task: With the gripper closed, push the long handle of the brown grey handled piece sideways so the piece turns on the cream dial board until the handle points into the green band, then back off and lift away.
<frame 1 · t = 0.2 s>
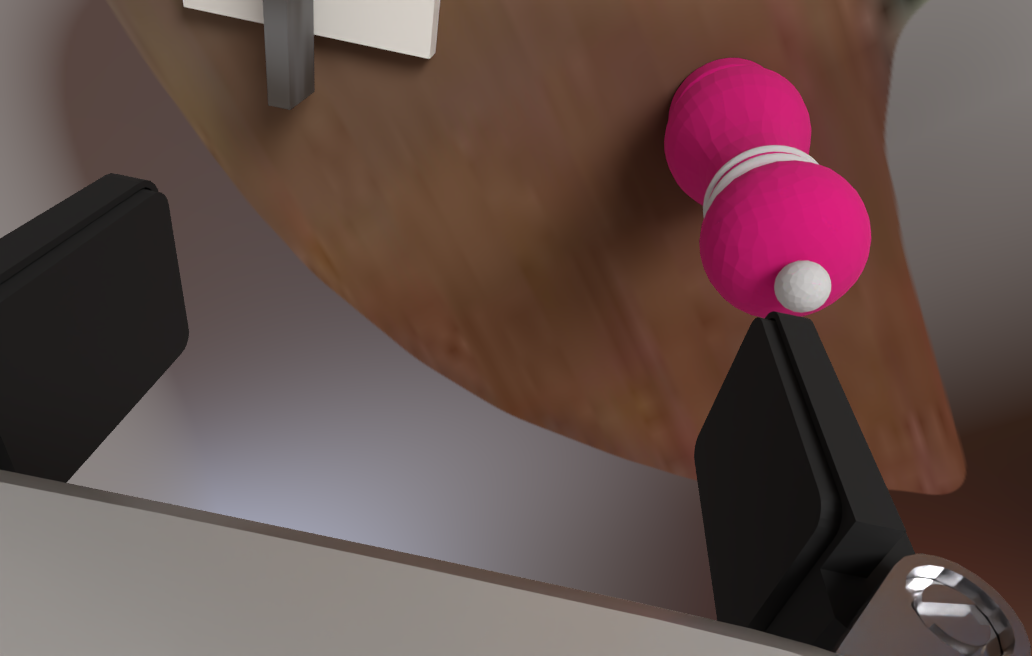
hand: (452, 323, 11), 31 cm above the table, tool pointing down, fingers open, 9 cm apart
pepper mill: (722, 112, 38), on the table
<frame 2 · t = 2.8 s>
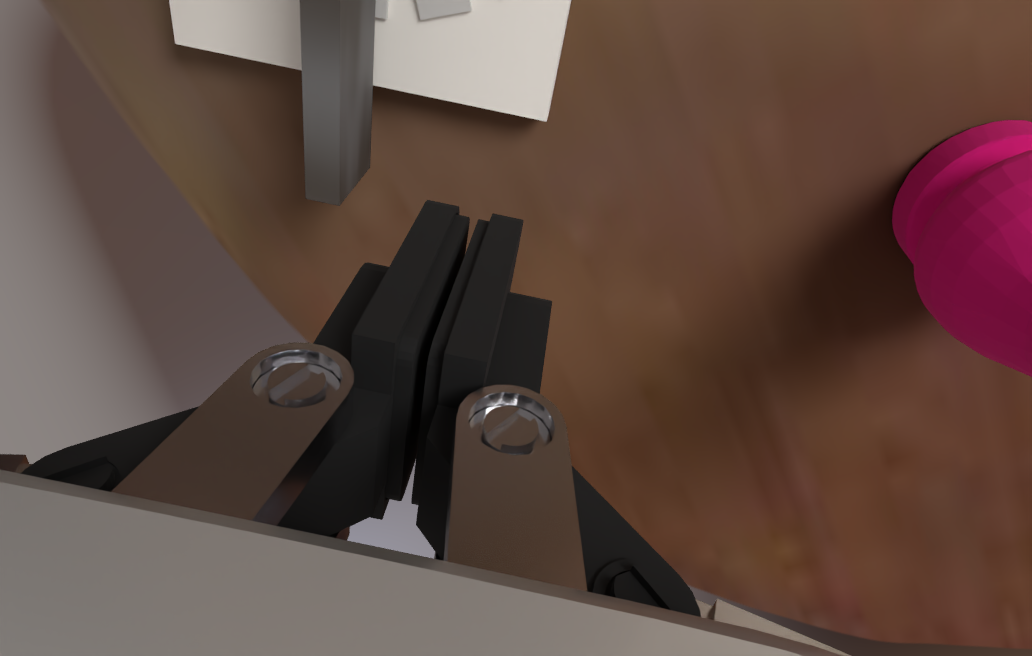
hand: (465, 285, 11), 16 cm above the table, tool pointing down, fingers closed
pepper mill: (976, 196, 25), on the table
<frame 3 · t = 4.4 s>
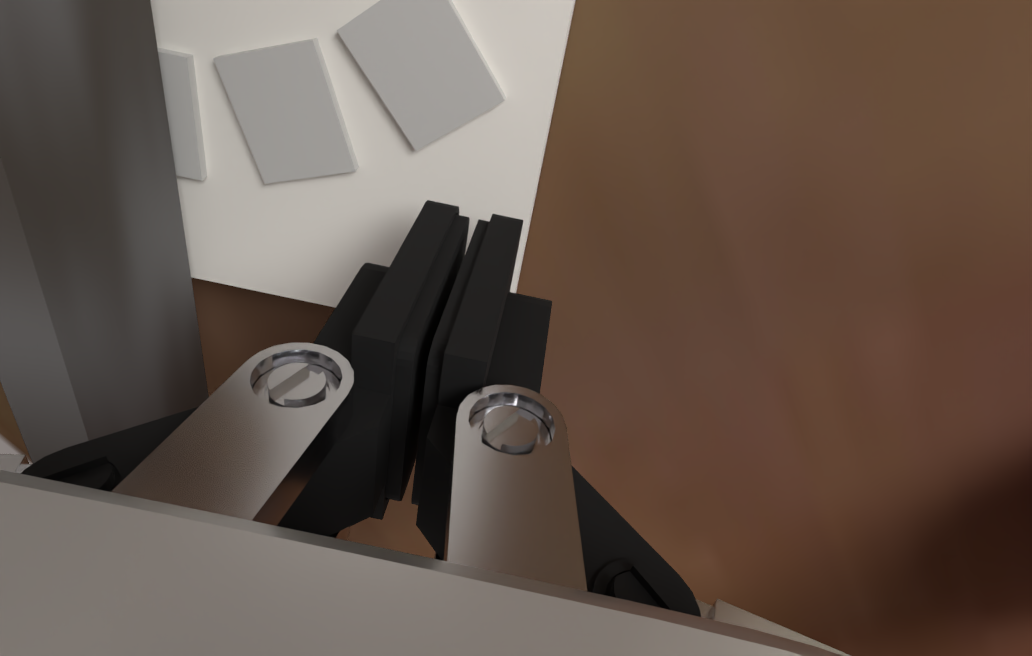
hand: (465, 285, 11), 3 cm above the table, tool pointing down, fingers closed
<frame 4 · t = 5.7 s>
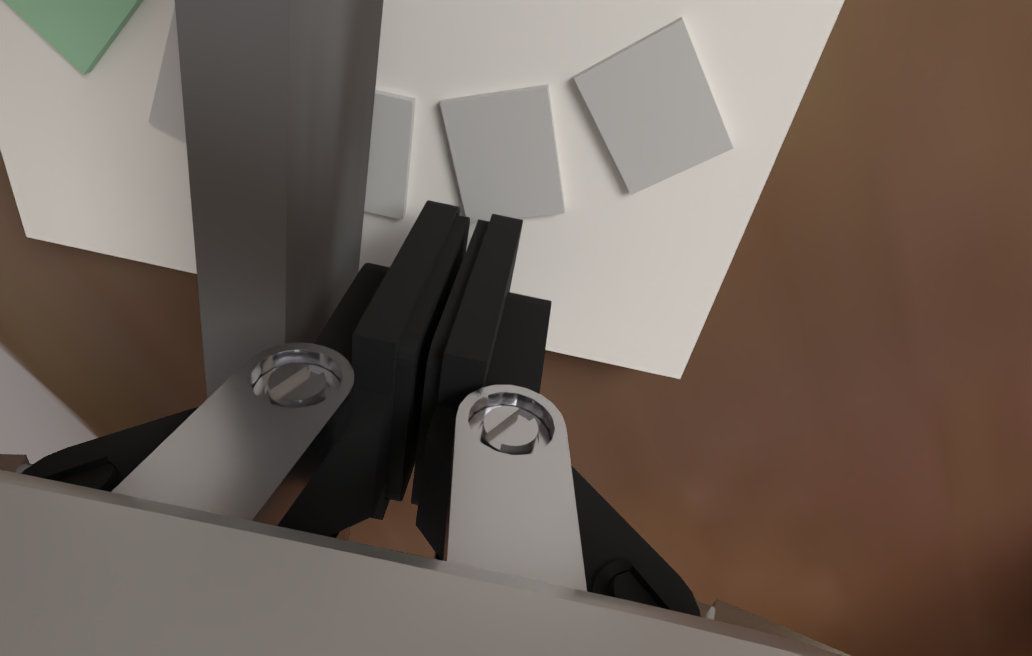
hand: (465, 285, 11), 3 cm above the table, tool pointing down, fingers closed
brown grey handled piece: (246, 124, 8), point 5 cm above the table, hinge at -2.4°, touching gripper
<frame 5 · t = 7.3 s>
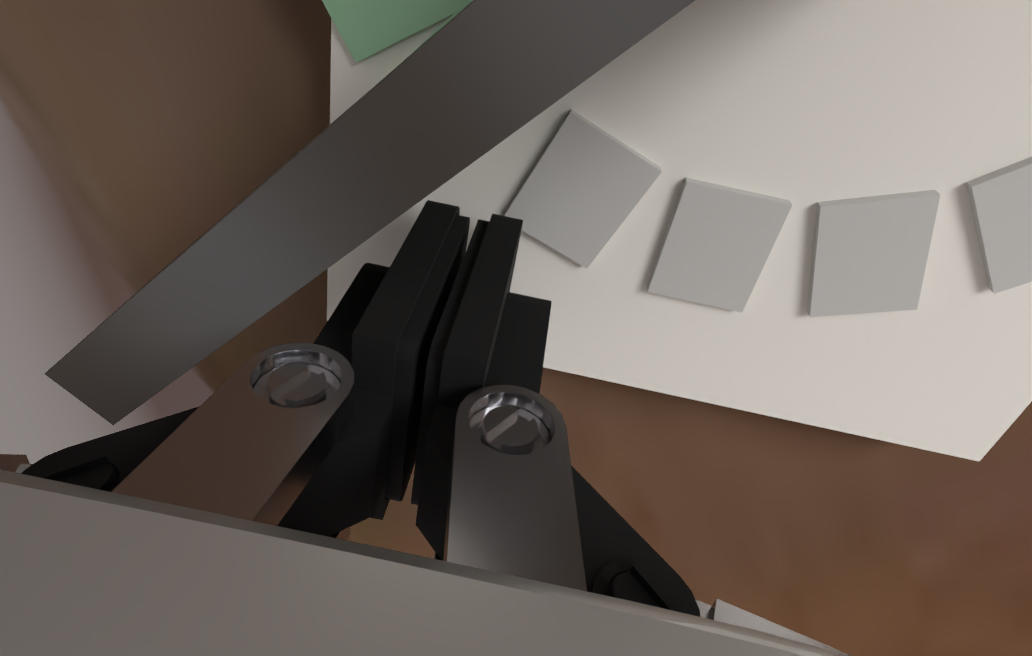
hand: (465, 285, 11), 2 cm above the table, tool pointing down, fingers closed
brown grey handled piece: (496, 66, 7), point 5 cm above the table, hinge at -42.2°, touching gripper
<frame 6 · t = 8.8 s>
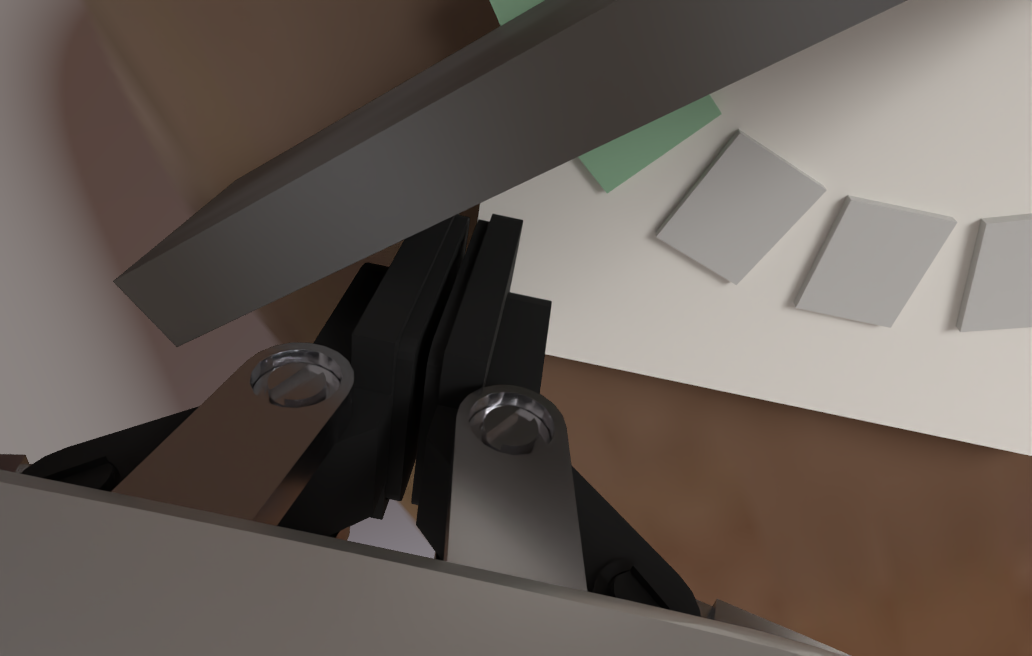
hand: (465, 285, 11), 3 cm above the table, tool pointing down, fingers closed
brown grey handled piece: (718, 14, 6), point 5 cm above the table, hinge at -51.5°, touching gripper
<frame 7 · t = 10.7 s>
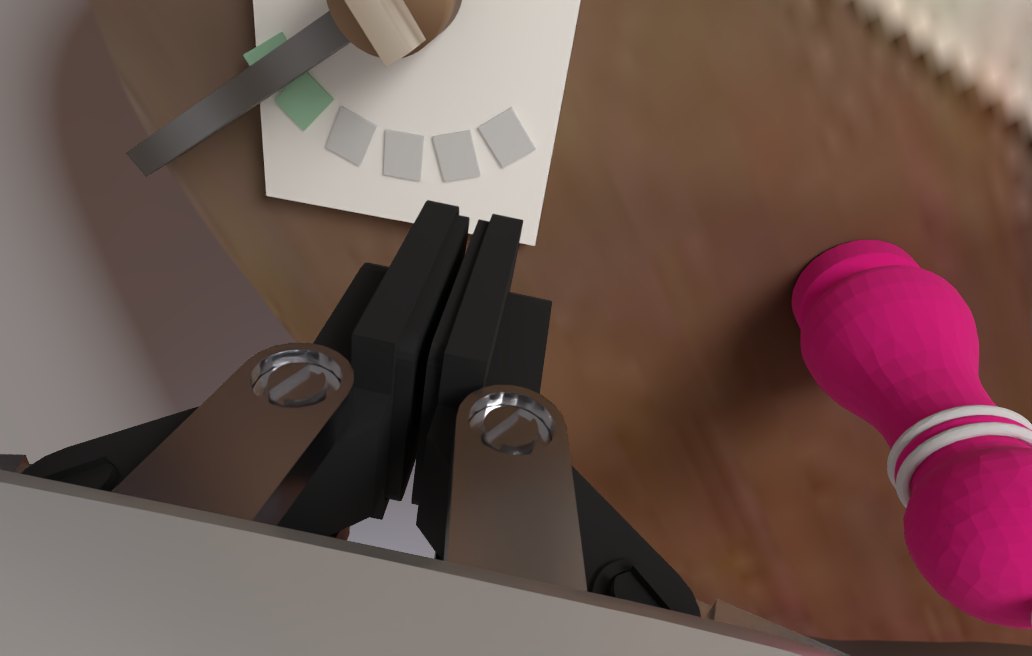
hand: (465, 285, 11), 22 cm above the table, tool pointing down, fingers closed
dial board: (417, 50, 30), on the table
pepper mill: (851, 290, 35), on the table
brown grey handled piece: (272, 71, 26), point 5 cm above the table, hinge at -51.6°
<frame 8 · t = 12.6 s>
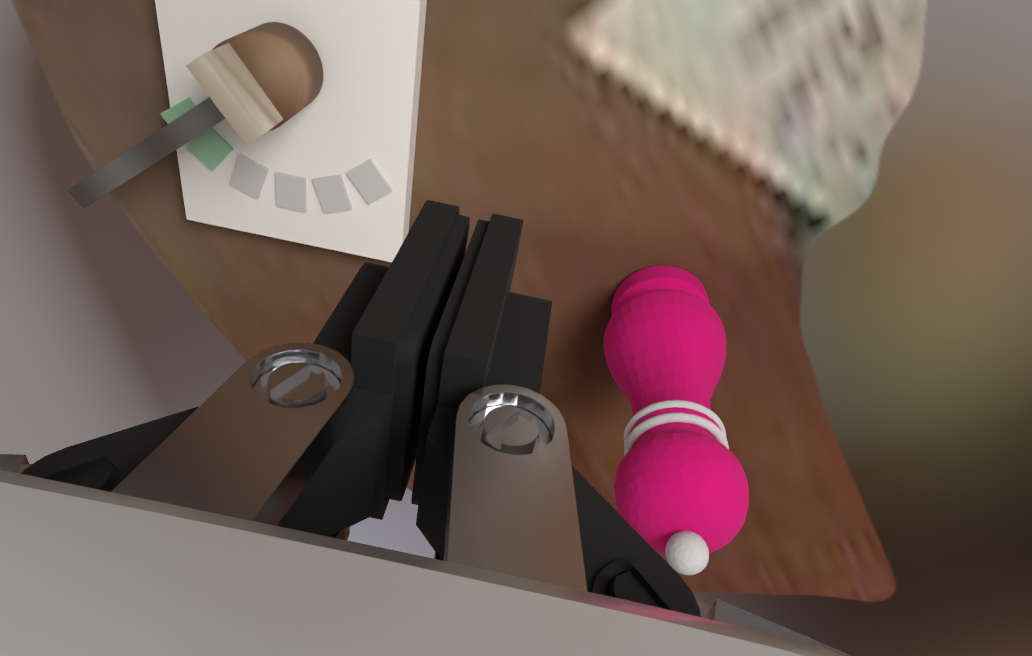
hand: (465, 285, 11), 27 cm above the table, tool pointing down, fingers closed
dial board: (299, 111, 38), on the table
pepper mill: (659, 303, 43), on the table
brown grey handled piece: (175, 135, 34), point 5 cm above the table, hinge at -51.6°
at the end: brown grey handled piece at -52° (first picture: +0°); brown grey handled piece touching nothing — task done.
